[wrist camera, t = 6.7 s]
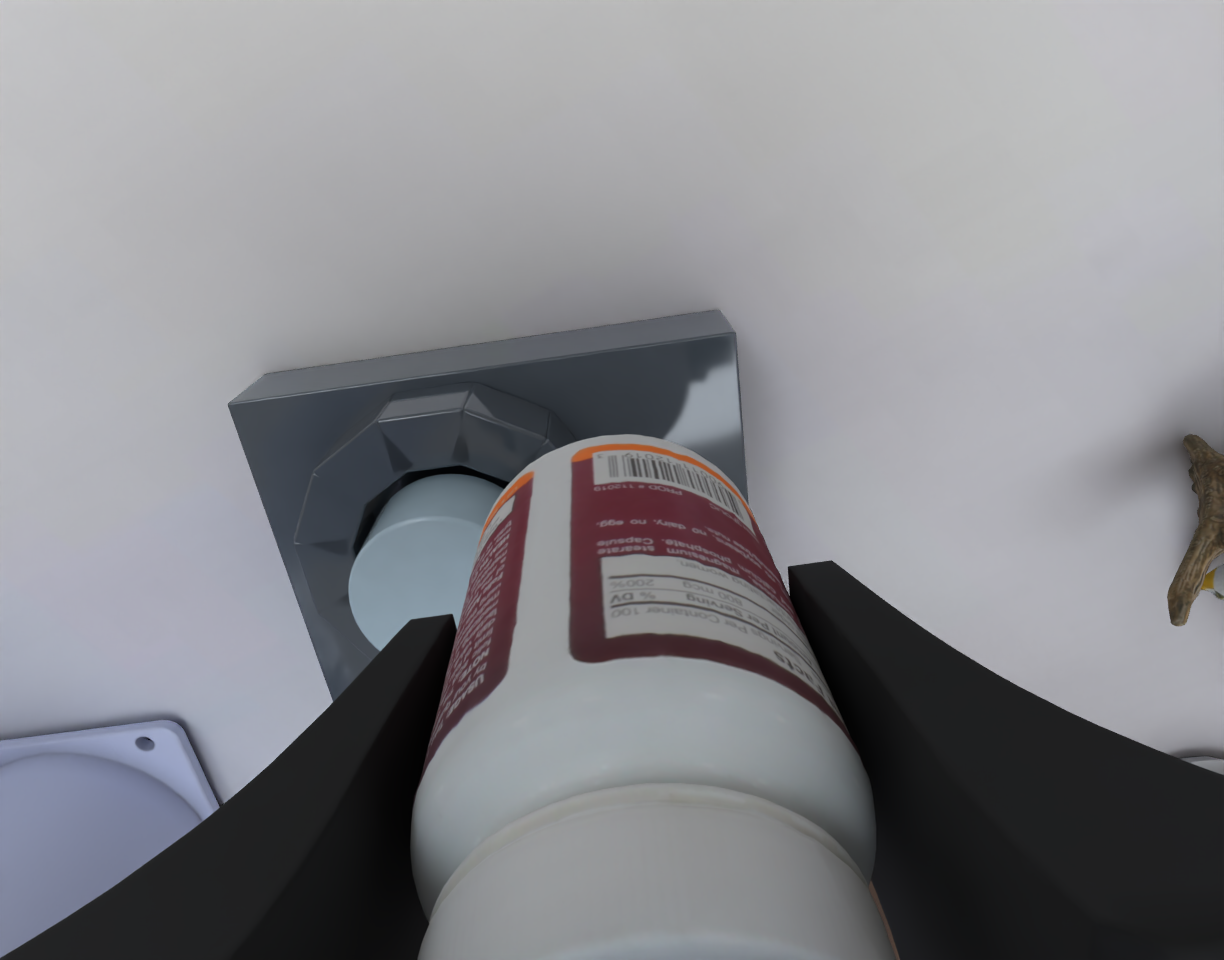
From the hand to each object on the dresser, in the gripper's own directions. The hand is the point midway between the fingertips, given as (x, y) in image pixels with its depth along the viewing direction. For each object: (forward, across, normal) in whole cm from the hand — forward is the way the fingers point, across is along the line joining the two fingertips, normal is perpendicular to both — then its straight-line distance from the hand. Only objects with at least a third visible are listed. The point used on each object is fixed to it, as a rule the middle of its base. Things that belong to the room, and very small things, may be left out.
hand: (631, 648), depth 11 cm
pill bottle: (+3, 0, 0) cm, 3 cm away
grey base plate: (+9, +3, +2) cm, 10 cm away
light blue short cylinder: (+6, +4, +1) cm, 7 cm away
